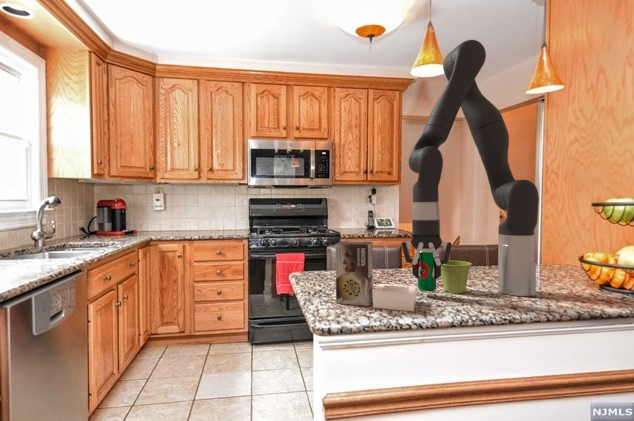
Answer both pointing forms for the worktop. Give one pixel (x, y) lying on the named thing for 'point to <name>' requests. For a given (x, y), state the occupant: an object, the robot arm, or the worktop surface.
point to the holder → (395, 297)
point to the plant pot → (455, 276)
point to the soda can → (426, 270)
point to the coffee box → (354, 273)
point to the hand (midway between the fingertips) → (426, 277)
